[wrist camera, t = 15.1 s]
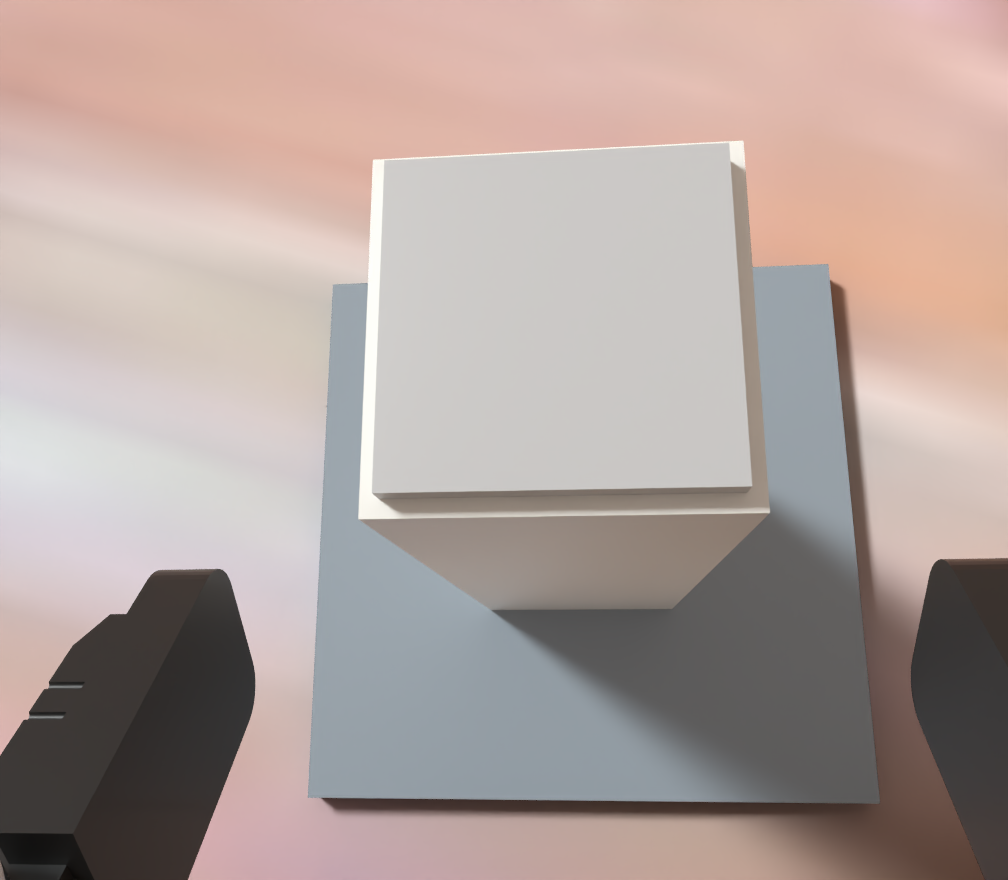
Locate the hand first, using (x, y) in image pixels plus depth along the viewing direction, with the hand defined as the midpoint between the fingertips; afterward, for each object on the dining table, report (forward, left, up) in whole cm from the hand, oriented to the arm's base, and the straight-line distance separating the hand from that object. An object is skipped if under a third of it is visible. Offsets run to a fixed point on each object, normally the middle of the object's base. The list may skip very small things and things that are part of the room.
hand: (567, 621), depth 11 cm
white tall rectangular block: (0, +3, -10) cm, 10 cm away
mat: (0, +3, -11) cm, 11 cm away
